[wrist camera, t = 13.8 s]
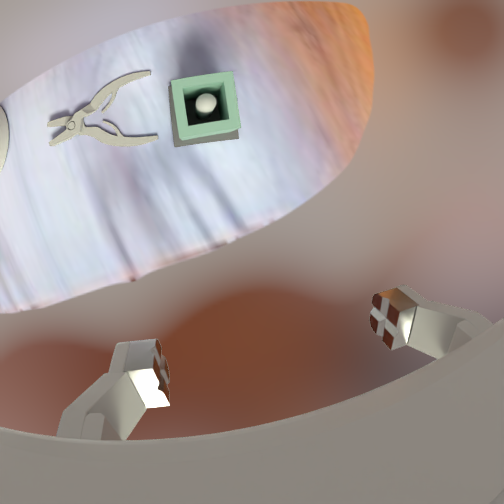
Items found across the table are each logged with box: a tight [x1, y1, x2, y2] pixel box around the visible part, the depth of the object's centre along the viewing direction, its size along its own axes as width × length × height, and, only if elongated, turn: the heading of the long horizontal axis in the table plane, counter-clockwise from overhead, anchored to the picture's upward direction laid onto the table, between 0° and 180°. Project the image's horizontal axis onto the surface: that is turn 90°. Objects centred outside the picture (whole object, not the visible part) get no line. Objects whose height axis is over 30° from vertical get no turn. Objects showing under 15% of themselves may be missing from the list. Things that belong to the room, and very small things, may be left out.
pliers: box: [47, 71, 158, 146], centre depth 29 cm, size 10×2×15 cm
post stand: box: [168, 86, 239, 147], centre depth 29 cm, size 8×8×8 cm
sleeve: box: [171, 71, 241, 141], centre depth 28 cm, size 6×6×8 cm
